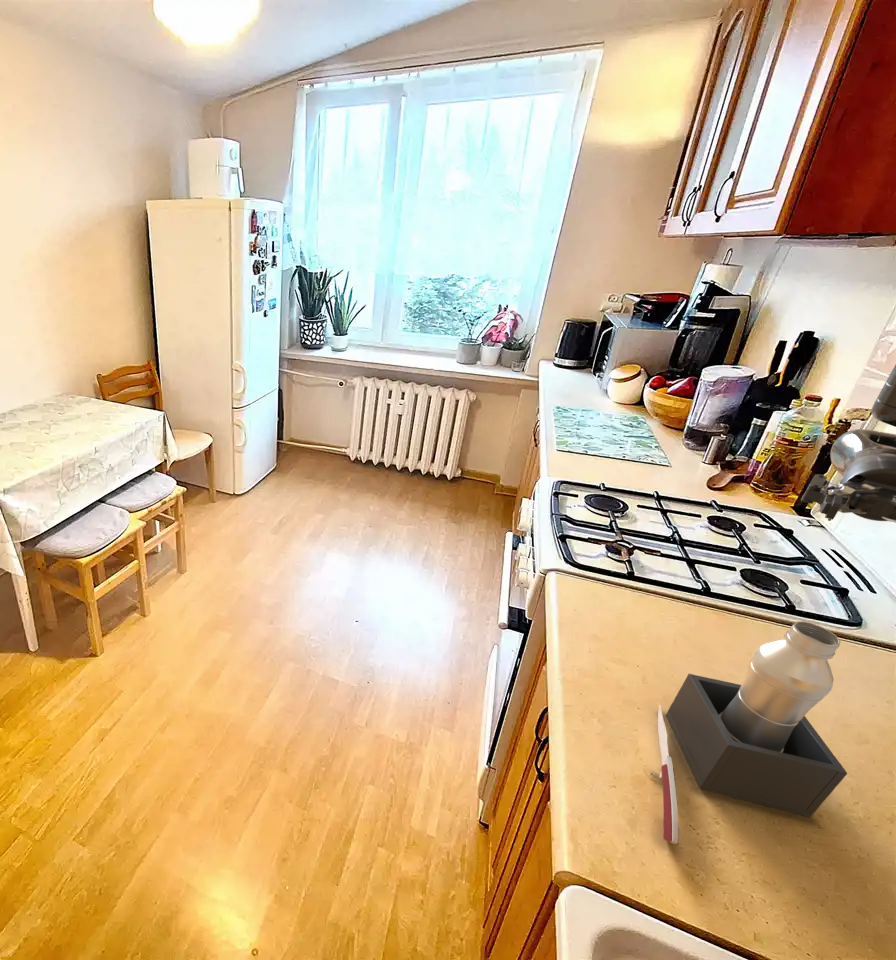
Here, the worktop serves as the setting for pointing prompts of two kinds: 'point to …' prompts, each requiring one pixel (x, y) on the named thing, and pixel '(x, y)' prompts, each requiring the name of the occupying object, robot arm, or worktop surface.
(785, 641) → the plastic bottle
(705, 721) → the bin
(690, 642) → the worktop surface
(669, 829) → the knife
